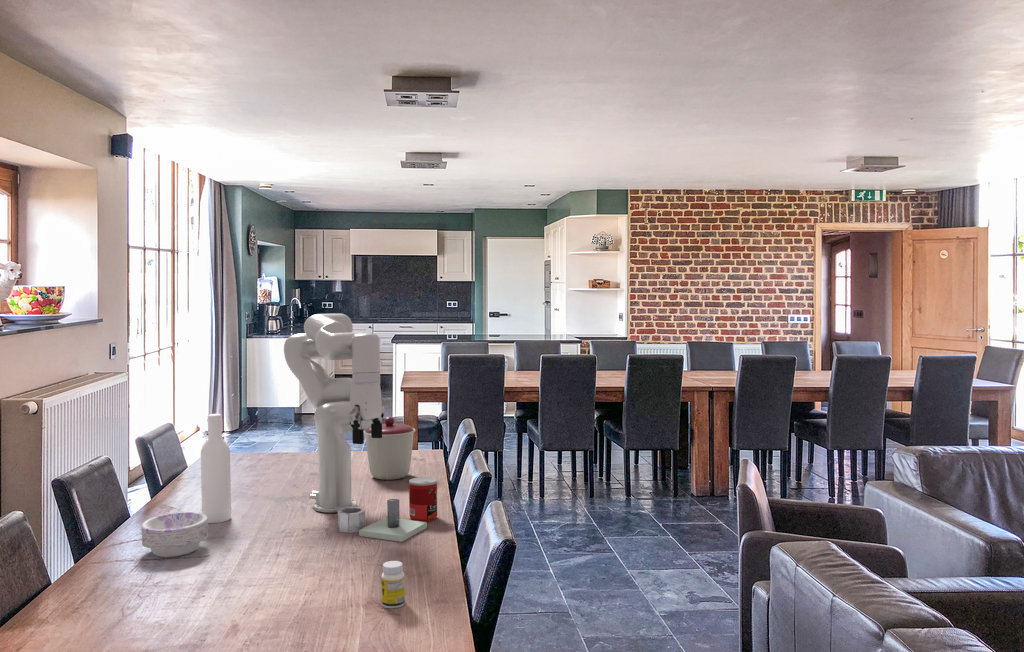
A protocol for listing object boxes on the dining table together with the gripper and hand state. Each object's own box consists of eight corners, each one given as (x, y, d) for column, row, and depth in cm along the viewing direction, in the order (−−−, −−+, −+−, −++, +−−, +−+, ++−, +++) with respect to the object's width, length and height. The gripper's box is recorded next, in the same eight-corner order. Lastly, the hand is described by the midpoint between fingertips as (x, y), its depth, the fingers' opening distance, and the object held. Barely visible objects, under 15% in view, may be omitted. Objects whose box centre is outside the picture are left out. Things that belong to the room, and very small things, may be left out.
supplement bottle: (382, 600, 160) (382, 560, 159) (405, 599, 160) (405, 559, 160) (380, 609, 155) (380, 568, 155) (404, 608, 155) (403, 567, 155)
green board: (359, 535, 203) (359, 530, 203) (386, 522, 215) (386, 517, 215) (401, 541, 198) (401, 536, 198) (426, 527, 210) (426, 522, 210)
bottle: (236, 519, 219) (234, 414, 218) (209, 525, 213) (207, 417, 212) (223, 513, 224) (221, 411, 223) (196, 519, 219) (194, 414, 218)
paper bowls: (143, 565, 181) (142, 532, 181) (141, 547, 195) (140, 516, 195) (212, 555, 188) (211, 523, 188) (205, 538, 202) (204, 508, 202)
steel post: (385, 527, 205) (384, 501, 205) (391, 523, 208) (391, 498, 208) (395, 528, 204) (395, 502, 204) (401, 525, 207) (401, 499, 207)
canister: (426, 474, 272) (425, 415, 272) (392, 485, 257) (391, 422, 256) (387, 468, 282) (387, 411, 281) (352, 478, 267) (351, 418, 266)
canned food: (432, 523, 214) (432, 483, 214) (405, 521, 216) (405, 482, 215) (440, 515, 222) (440, 477, 221) (414, 513, 223) (413, 476, 223)
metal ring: (333, 530, 207) (333, 512, 207) (348, 523, 214) (348, 506, 214) (355, 533, 205) (354, 515, 204) (369, 526, 211) (369, 508, 211)
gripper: (370, 375, 220) (372, 435, 221) (337, 381, 204) (338, 445, 204) (393, 376, 218) (395, 436, 218) (361, 381, 201) (363, 446, 202)
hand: (367, 440), depth 211 cm, fingers open, 9 cm apart
